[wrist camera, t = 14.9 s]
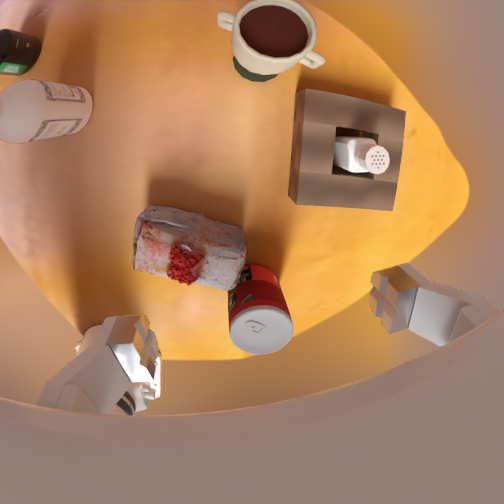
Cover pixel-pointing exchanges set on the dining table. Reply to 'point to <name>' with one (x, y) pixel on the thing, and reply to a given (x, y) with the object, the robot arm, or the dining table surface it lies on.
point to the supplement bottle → (17, 52)
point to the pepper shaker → (360, 155)
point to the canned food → (258, 312)
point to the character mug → (271, 38)
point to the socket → (322, 151)
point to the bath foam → (42, 110)
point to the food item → (188, 247)
